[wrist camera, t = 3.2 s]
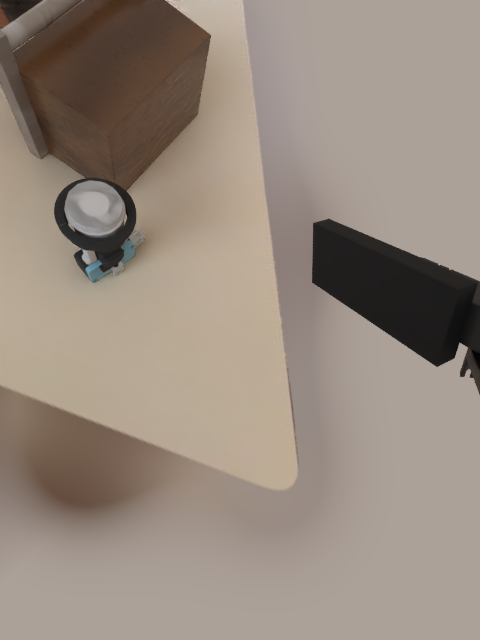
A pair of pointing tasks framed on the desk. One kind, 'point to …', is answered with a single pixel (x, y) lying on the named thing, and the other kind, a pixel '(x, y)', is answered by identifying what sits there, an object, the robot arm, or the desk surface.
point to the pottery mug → (15, 10)
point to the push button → (98, 225)
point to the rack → (103, 81)
